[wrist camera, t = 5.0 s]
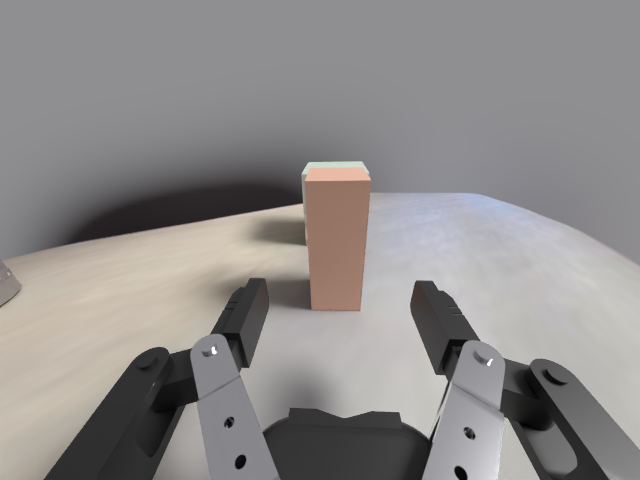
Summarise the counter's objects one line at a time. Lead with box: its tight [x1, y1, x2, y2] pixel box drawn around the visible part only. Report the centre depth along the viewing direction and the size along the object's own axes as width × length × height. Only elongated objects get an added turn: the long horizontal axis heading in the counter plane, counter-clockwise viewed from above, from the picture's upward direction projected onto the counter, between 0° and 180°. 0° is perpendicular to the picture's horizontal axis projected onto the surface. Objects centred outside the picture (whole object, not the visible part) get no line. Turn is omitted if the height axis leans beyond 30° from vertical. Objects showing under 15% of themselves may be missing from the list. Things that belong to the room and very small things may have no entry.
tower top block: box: [302, 162, 369, 213], centre depth 32 cm, size 8×8×5 cm
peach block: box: [305, 167, 371, 311], centre depth 20 cm, size 4×4×12 cm
